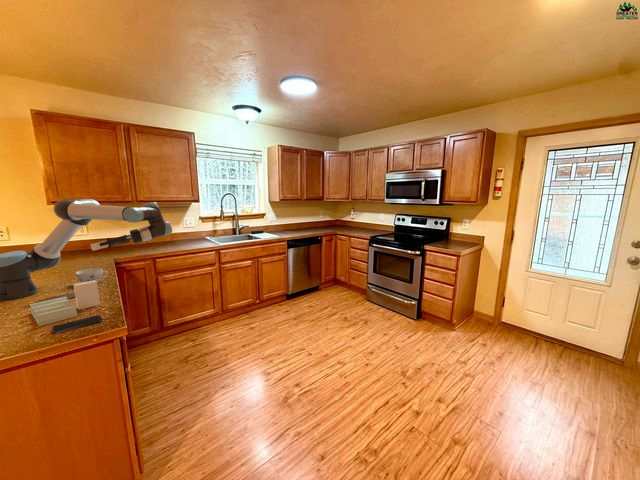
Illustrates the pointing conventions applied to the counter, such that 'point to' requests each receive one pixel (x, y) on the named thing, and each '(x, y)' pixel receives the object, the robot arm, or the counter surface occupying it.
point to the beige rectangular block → (86, 294)
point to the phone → (76, 324)
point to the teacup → (90, 274)
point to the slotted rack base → (53, 310)
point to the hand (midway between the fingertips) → (91, 247)
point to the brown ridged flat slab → (54, 298)
